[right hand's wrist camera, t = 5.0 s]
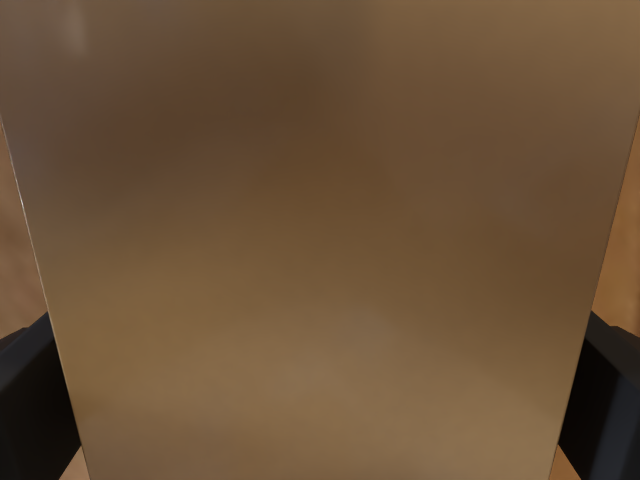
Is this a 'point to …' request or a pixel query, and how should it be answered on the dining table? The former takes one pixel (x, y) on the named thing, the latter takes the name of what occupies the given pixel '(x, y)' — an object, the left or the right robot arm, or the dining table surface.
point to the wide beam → (319, 225)
